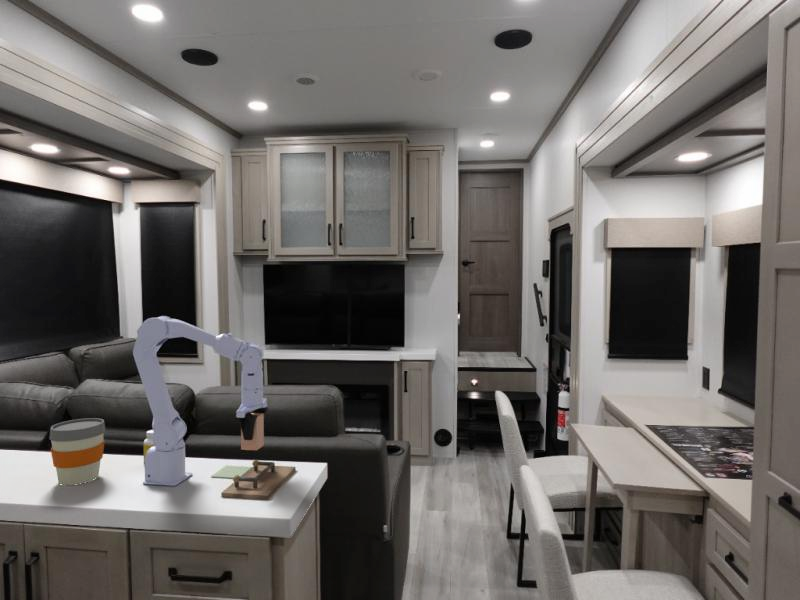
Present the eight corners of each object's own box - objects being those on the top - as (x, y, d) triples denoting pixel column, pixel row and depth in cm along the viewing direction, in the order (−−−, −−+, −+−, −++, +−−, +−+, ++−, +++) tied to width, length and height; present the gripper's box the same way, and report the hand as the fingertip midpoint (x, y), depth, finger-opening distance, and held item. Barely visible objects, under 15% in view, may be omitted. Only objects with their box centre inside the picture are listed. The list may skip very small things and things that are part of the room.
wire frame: (221, 496, 117) (221, 481, 117) (255, 468, 136) (255, 454, 136) (267, 499, 115) (267, 483, 115) (295, 470, 134) (295, 456, 134)
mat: (211, 477, 129) (211, 476, 129) (226, 466, 137) (226, 465, 137) (238, 479, 128) (238, 477, 128) (252, 467, 136) (252, 466, 136)
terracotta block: (241, 449, 130) (241, 416, 129) (248, 444, 134) (248, 412, 134) (256, 450, 129) (256, 417, 129) (263, 445, 133) (263, 413, 133)
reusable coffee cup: (37, 486, 124) (36, 429, 123) (80, 468, 136) (79, 416, 135) (76, 491, 121) (75, 432, 120) (117, 472, 133) (116, 419, 132)
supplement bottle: (155, 468, 136) (155, 434, 136) (139, 466, 137) (138, 433, 137) (168, 461, 141) (168, 428, 141) (152, 460, 142) (152, 427, 142)
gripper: (254, 394, 123) (254, 446, 124) (276, 383, 138) (276, 429, 138) (228, 393, 124) (229, 444, 125) (253, 382, 139) (253, 428, 139)
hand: (252, 436), depth 132 cm, fingers closed on terracotta block, 4 cm apart
